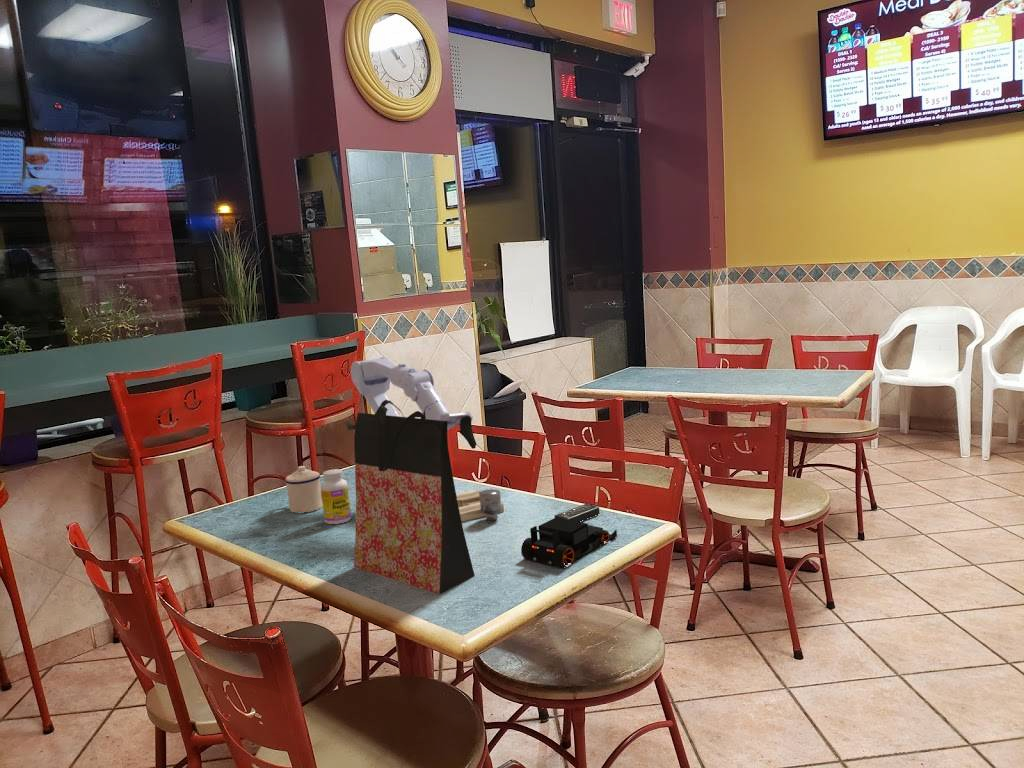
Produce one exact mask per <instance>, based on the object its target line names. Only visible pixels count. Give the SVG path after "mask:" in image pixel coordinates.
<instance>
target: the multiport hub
mask: <svg viewBox="0 0 1024 768" xmlns="http://www.w3.org/2000/svg"><path fill="white" fill-rule="evenodd" d="M598 514H600V506H597V505H594V504H590V503H585V504H584V503H583V504H582V505H579V506H575V507H574V508H571V509H568V510H565V511H562V512H561V513H557V514H555V515H554V518H560V519H566V520H571V521H576V522H580V521H582V520H585V519H587V518H590V517H593V516H595V515H598ZM600 515H601V514H600ZM598 516H599V515H598ZM595 517H596V516H595ZM593 518H594V517H593ZM590 519H591V518H590ZM587 520H588V519H587ZM585 521H586V520H585ZM582 522H583V521H582Z"/></svg>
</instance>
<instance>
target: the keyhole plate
mask: <svg viewBox="0 0 1024 768" xmlns="http://www.w3.org/2000/svg"><path fill="white" fill-rule="evenodd" d="M480 492H481V491H480V490H479V489H473V490H469V491H464V492H460V493H456V496H457V502H458V507H459V512H460V517H461V522H462V523H463V522H467V521H471V520H474V519H479V518H483V517H486V514H484V513H481V508H480V498H479V493H480ZM501 509H502V510H501V511H500V512H498V513H497V514H499V513H504V512H505V507H504V503H502V502H501Z"/></svg>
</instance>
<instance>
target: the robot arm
mask: <svg viewBox="0 0 1024 768" xmlns="http://www.w3.org/2000/svg"><path fill="white" fill-rule="evenodd" d="M350 376H351V381H352V382H353V384H354V386H355V388H356V389H357V392H358V393H359V394H360V395H361V396H364V398H365V400H366V402H367V404H368V405H369V406H370V408H371V410H372V412H373V414H375V413H376V411H377V410H378V408H379V406H380V405H381V403H382V402H383V401H384V400H389V398H388V397H387V395H386V393H387V392H388V390H390V384H392V385H394V386H395V387H397V388H400V389H402V390H403V392H404V395H405V396H406V397H407V398H410V400H411V401H412V402H414V403H416V405H417V406H418V408H419V410H420V412H421V413H424V410H425V416H426V419H430V420H440V421H448V424H447V431H448V430H450V429H452V428H453V427H457V426H459V434H460V435H461V436H463V438H464V439H465V441H467V443H468V445H469V446H470V449H472V450H474V449H476V447H477V441H476V439H475V435H474V431H473V425H472V423H473V422H472V421H473V415H472V413H471V412H470V411H466V412H459V413H451V412H450V410H449V409H448V408H447V405H446V404H445V403H444V400H442V398H441V396H440V395H439V393H438V392H437V390H436V388H435V384H434V383H435V382H434V378H433V375H432V373H431V372H430V371H429V370H428V369H423V370H421V371H419V370H416V368H414V367H409V366H407V364H406V363H404V362H403V363H399V364H397V365H395V364H393V363H391V362H390V360H389V358H386V357H385V356H382V357H380V358H379V357H378V358H372V359H366V360H359V361H357V360H356V361H353V362H352V364H351V366H350ZM385 407H386V408H387V409H388V410H387V412H386V415H388V416H399V414H398V413H397V411H396V408H394V405H392V404H390V403H388V404H386V405H385ZM425 407H426V408H425Z"/></svg>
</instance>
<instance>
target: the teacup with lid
mask: <svg viewBox="0 0 1024 768" xmlns="http://www.w3.org/2000/svg"><path fill="white" fill-rule="evenodd" d="M320 478H321V475H320V473H319V472H317V471H314V470H310V469H306V466H305V465H300V466H298V467H297V470H296V471H293V472H292V473H291V474H289V475H288V476H286V477H285V480H284V482H285V483H286V485H285V486H286V492H287V496H288V497H287V498H288V504H289V510H290V512H291V511H292V512H291V513H293V512H308V513H311V512H310V511H313V512H315V511H314V510H316V509H318V510H320V509H321V508H323V504H322V495H321V479H320ZM319 508H320V509H319ZM316 511H317V510H316Z"/></svg>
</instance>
